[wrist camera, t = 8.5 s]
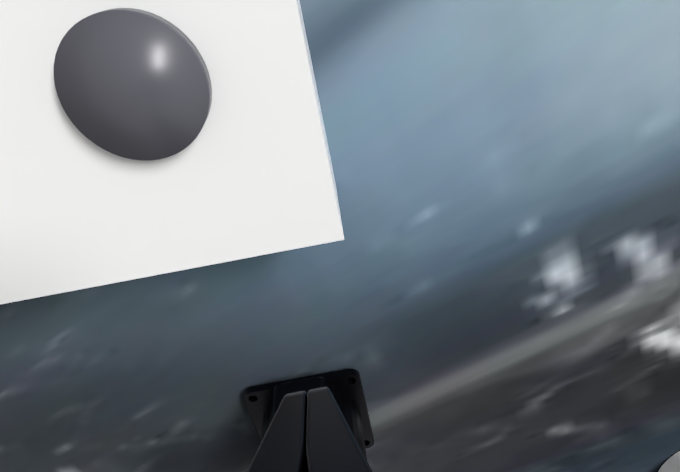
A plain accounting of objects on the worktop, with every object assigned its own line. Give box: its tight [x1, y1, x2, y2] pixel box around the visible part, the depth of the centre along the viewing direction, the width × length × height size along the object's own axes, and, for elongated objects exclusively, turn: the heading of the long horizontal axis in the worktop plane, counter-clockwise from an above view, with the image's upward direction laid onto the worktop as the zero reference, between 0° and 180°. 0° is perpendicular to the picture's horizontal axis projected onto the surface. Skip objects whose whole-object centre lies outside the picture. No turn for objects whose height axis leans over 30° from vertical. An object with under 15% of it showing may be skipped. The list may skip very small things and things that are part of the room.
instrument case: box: [0, 0, 344, 304], centre depth 16 cm, size 10×14×6 cm
